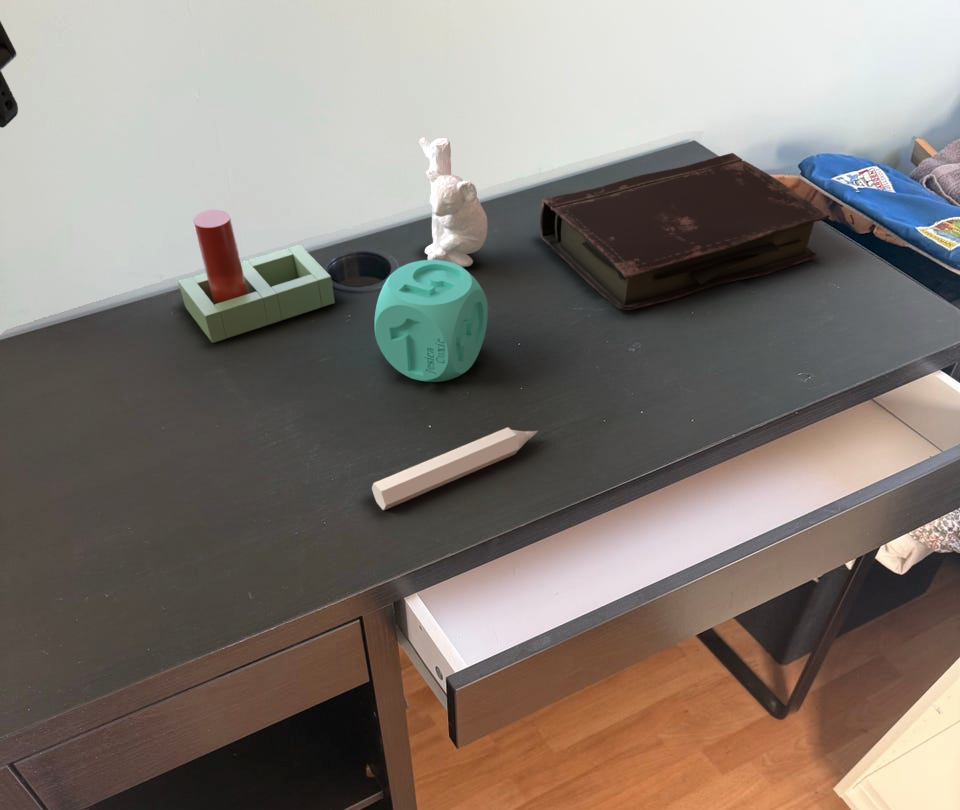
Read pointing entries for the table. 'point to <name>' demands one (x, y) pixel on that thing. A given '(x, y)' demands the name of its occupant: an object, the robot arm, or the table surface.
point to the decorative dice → (431, 320)
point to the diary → (680, 230)
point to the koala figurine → (452, 209)
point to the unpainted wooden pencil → (448, 467)
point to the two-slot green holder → (261, 294)
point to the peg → (220, 255)
